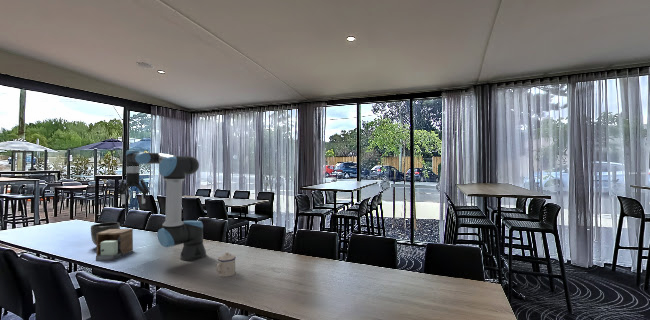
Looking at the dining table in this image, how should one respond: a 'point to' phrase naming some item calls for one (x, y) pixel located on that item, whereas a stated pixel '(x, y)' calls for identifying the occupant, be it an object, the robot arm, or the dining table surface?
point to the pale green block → (109, 248)
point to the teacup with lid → (226, 265)
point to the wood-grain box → (116, 239)
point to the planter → (103, 228)
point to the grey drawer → (113, 257)
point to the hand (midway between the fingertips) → (133, 203)
